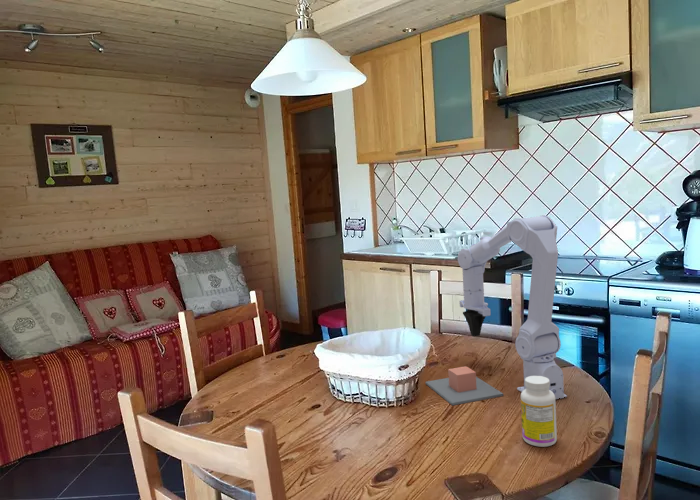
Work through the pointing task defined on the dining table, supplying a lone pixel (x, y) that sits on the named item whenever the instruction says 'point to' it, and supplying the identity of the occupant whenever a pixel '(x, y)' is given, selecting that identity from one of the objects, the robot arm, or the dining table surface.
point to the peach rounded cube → (462, 379)
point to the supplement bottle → (538, 412)
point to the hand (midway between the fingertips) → (475, 335)
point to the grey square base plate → (463, 397)
